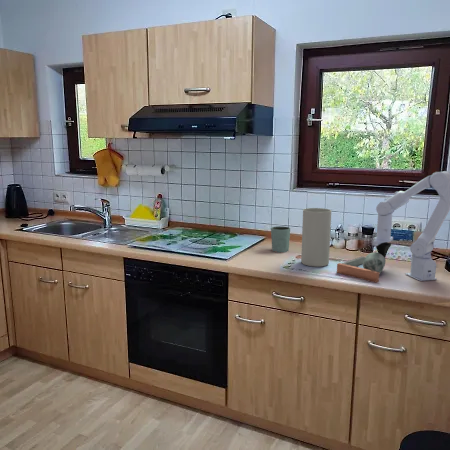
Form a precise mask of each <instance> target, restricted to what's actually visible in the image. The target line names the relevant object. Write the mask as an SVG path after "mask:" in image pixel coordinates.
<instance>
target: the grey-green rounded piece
mask: <svg viewBox="0 0 450 450" xmlns="http://www.w3.org/2000/svg"><path fill="white" fill-rule="evenodd" d="M364 257H365V259H364V262H363V264H362V268H364V269H368V270H372V271H377V272H379V275H380V274H381V273H382V271H383V270H384V268H385V265H386V257H385V258H384V256H383V255H381V254H379V253H378V252H377V251H376V252H375V251H374V252H371V253H368V254H367V255H366V256H364Z"/></svg>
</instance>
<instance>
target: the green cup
mask: <svg viewBox="0 0 450 450" xmlns="http://www.w3.org/2000/svg"><path fill="white" fill-rule="evenodd" d="M270 233H271V234H270V235H271V237H270V238H271V239H270V240H271V251H272V250H273V251H272V252H274V251H277V252H276V253H280V252H283V253H287V251H288V252H289V250H290V249H289V248H290V241H291V240H290V239H291V238H290V237H291V227H289V226H285V225H284V226H283V225H282V226H277V225H276V226H271V227H270Z"/></svg>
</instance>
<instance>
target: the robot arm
mask: <svg viewBox="0 0 450 450" xmlns="http://www.w3.org/2000/svg"><path fill="white" fill-rule="evenodd" d="M430 188H433V189H434V190H435V191H436V192H437V194H438V197H439V200H438V201H437V204H436V205H435V208H434V209H433V212H432V213H431V215H430V217H429V219H428V221H427V222H426V225H425V227H424V229H423V230H422V232H421V234H420V235H419V236H418V237H417V239H416V240H415V241H414V242H413V243H411V245H410V247H409V248H410V253H411V259H410V261H411V263H410V272H405V275H406V276H409V277H410V278H413V279H415V280H417V281H419V282H421V281H422V282H423V281H434V280H437V277H436V273H437V271H436V270H437V262H436V261H435V260H433V258H432V253H431V252H432V251H433V250H434V245H435V241H436V236H437V234H438V233H439V231H440V229H441V227H442V225H443V223H444V222H445V219H446V217H447V216H448V215H449V212H450V171H448V170H444V171H435V172H433V173H432V174H431V175H427V176H426V177H424V178H423V179H421V180H420V181H418V182H416V183H415V184H414V185H412V186H411V187H409V188H408V189H407V190H405V191H403V190H399V191H395V192H394V194H393V195H391V196H390V197H386V198H385V199H384V200H385V201H379V203H377V205H376V209H375V210H376V213H377V224H376V226H377V227H376V236H375V237H373V241H372V246H375V248H376V250H377V251H376V252H377V253H379V254H381V255H383V256H384V258H385V259H386V256H387V255H388V251H389V249H390V247H392V243H390V242H393V241H394V236H391V235H392V220H393V213H394V212H395V211H397V210H398V209H400V208H401V207H403V206H405V205H406V204H407V203H409V201H410V199H411V197H413V196H416V195H417V194H419V193H420V192H422V191H424V190H425V189H430Z"/></svg>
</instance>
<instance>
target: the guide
mask: <svg viewBox="0 0 450 450" xmlns="http://www.w3.org/2000/svg"><path fill="white" fill-rule="evenodd" d="M365 257H366V256H360V257H357V258H353V259H350V260H348V261H344V262H342V263H341V262H339V263H337V265H336V273H337V274H340V275H344V276H348V277H353V278H356V279H361V280H364V281H368V282H372V283H375V284H376V283H379V281H380V274H379V272H377V271H372V270H368V269H364V268H363V267H359V266H361V265H363V262H364V259H365Z"/></svg>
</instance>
